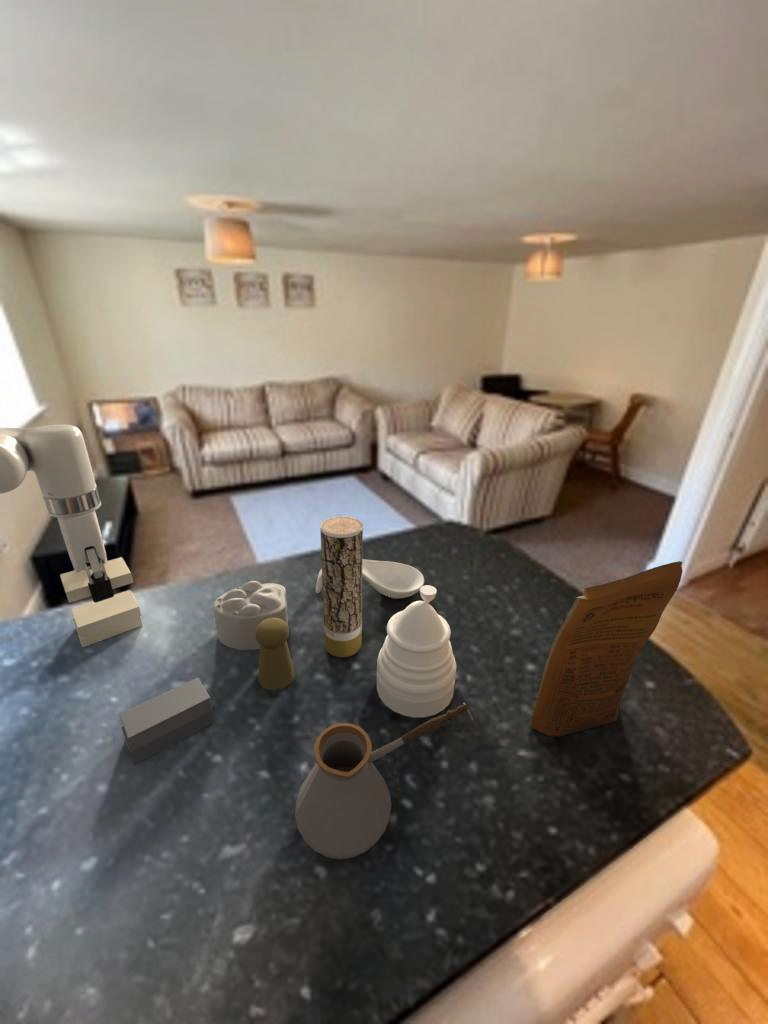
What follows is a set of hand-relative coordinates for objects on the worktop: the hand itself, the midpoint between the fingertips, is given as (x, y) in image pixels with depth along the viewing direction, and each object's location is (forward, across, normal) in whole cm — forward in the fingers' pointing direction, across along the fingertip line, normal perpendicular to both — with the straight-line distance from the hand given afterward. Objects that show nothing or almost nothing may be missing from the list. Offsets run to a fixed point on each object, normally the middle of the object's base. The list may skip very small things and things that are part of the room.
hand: (99, 588), depth 82 cm
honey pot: (+9, +47, +36) cm, 60 cm away
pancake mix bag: (+9, +68, +51) cm, 85 cm away
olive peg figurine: (+9, +31, +19) cm, 37 cm away
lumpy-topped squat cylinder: (+9, +18, +21) cm, 29 cm away
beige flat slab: (-1, 0, 0) cm, 1 cm away
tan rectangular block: (+9, 0, 0) cm, 9 cm away
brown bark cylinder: (+9, +32, +32) cm, 46 cm away
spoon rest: (+9, +21, +47) cm, 52 cm away
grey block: (+9, +31, +2) cm, 32 cm away
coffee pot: (+9, +59, +19) cm, 63 cm away
